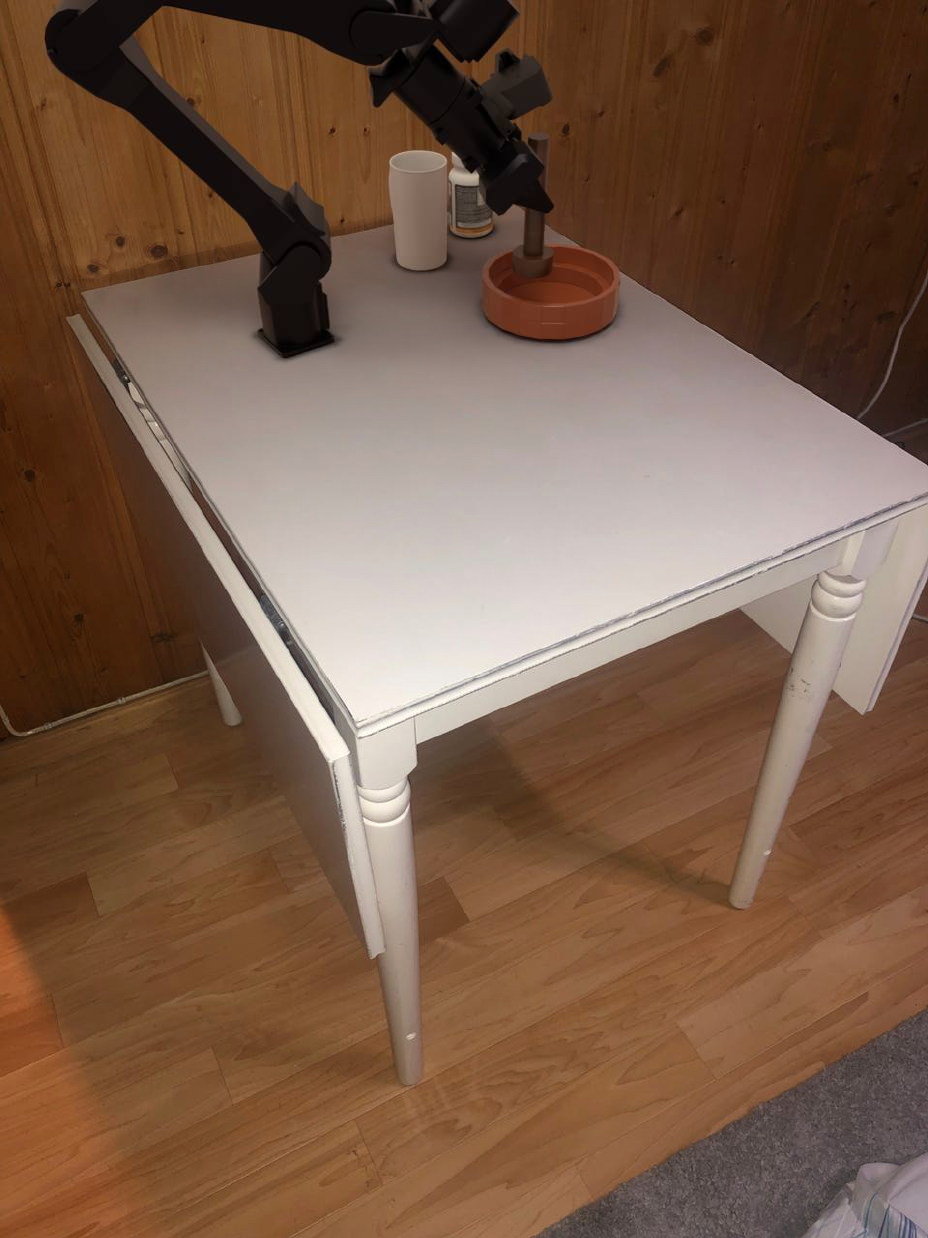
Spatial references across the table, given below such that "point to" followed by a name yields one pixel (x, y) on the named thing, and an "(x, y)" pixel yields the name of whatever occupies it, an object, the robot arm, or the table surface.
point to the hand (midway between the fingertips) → (547, 204)
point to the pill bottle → (467, 203)
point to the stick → (535, 224)
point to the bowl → (552, 294)
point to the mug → (419, 208)
